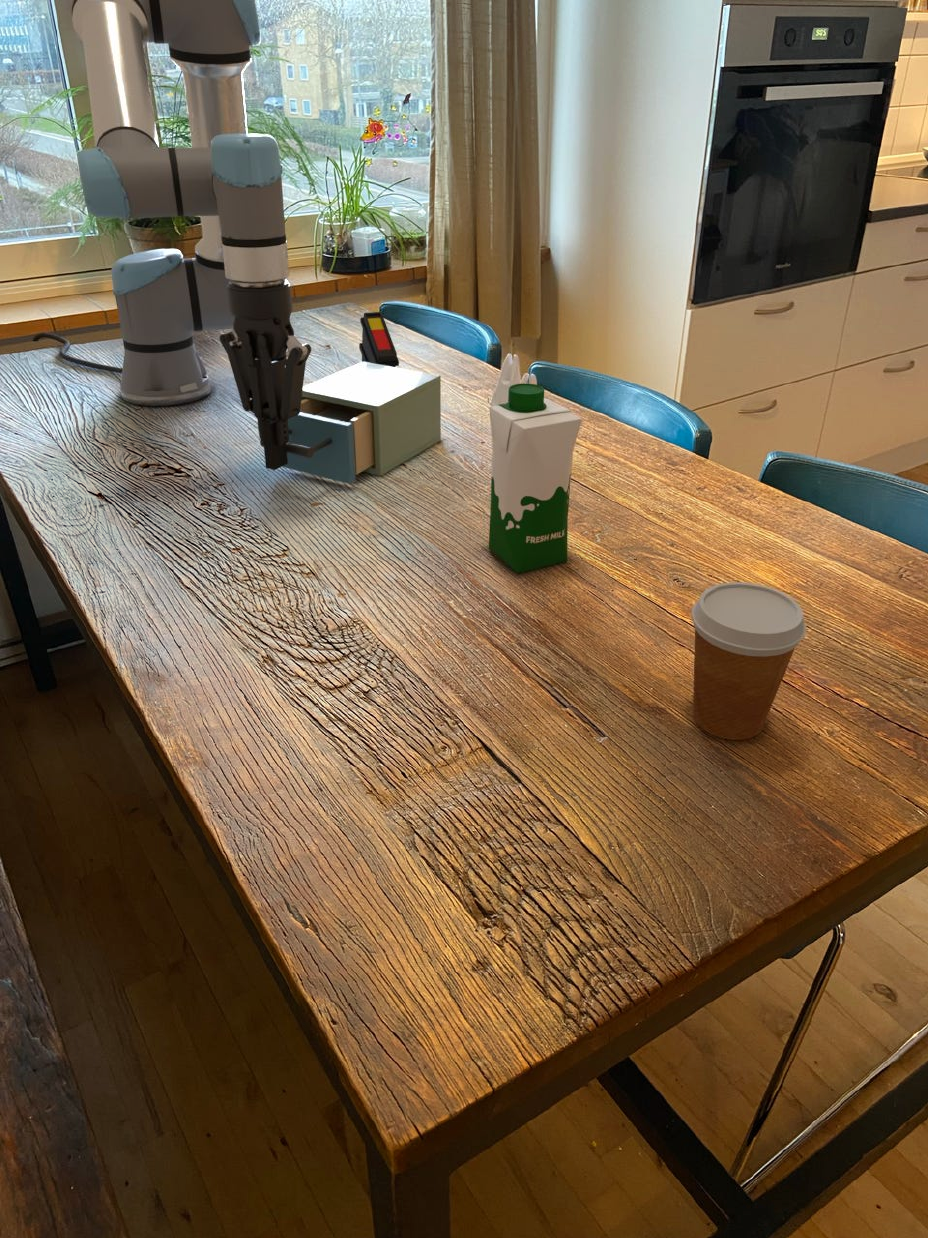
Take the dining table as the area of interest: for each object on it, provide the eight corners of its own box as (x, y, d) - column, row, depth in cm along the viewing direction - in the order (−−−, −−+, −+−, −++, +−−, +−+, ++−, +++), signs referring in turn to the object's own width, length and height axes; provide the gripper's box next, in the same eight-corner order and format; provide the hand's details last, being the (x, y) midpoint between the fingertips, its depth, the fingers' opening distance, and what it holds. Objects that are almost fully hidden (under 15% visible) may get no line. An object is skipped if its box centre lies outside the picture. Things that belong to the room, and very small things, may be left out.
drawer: (325, 499, 122) (321, 438, 117) (250, 478, 127) (243, 420, 123) (411, 449, 138) (410, 394, 133) (340, 433, 143) (337, 380, 139)
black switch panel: (376, 379, 165) (382, 310, 152) (394, 431, 158) (402, 363, 146) (355, 380, 164) (360, 311, 151) (373, 433, 157) (379, 365, 145)
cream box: (307, 452, 133) (304, 418, 130) (331, 440, 137) (329, 406, 134) (352, 463, 129) (350, 428, 127) (376, 450, 134) (374, 415, 131)
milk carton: (539, 533, 116) (548, 377, 105) (578, 563, 109) (593, 400, 99) (478, 547, 112) (482, 387, 102) (515, 579, 106) (523, 412, 95)
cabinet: (380, 476, 131) (378, 406, 126) (301, 456, 137) (295, 389, 132) (440, 440, 144) (440, 375, 138) (365, 424, 150) (362, 361, 144)
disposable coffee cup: (662, 690, 87) (679, 581, 81) (759, 686, 88) (783, 577, 82) (692, 755, 79) (713, 639, 73) (798, 750, 80) (828, 634, 74)
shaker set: (488, 414, 154) (490, 348, 148) (511, 411, 156) (513, 346, 150) (518, 438, 145) (521, 368, 139) (542, 435, 146) (546, 366, 140)
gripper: (321, 281, 109) (333, 466, 122) (238, 268, 115) (257, 447, 127) (280, 292, 104) (297, 485, 116) (195, 279, 109) (220, 464, 121)
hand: (277, 465), depth 121 cm, fingers closed
